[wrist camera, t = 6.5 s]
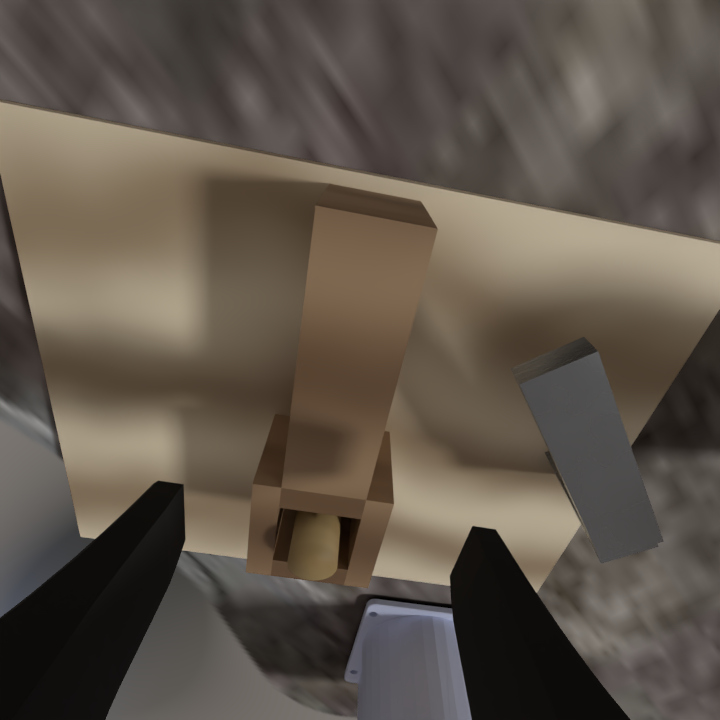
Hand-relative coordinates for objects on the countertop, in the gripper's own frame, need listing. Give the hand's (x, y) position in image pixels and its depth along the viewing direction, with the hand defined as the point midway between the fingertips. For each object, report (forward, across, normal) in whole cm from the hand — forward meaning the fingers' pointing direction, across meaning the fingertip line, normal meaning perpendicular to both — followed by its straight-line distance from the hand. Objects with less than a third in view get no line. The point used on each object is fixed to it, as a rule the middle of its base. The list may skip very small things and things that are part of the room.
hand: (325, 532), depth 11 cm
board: (+8, 0, +2) cm, 9 cm away
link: (+7, 0, 0) cm, 7 cm away
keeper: (+8, -8, -2) cm, 11 cm away
